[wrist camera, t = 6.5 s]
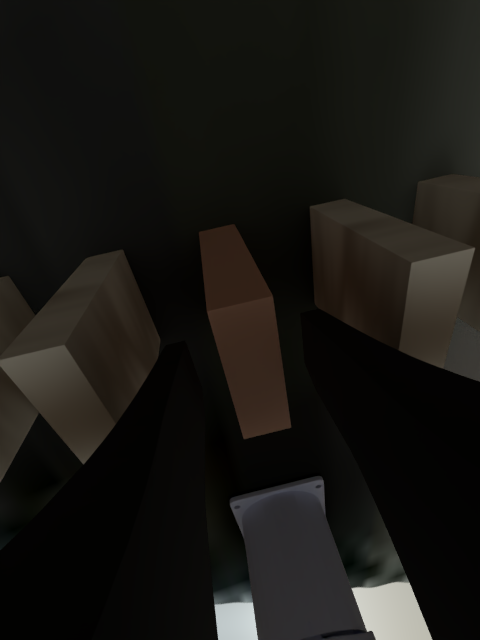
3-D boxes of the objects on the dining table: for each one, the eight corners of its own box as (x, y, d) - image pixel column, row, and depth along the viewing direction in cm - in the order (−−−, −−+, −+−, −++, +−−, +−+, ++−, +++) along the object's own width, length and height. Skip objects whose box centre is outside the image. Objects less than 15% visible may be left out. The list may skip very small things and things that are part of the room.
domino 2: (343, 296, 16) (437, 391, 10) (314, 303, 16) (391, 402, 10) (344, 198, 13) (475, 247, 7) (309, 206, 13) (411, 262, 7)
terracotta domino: (252, 317, 15) (291, 427, 10) (223, 324, 15) (243, 439, 10) (234, 223, 13) (272, 296, 7) (198, 231, 13) (206, 311, 7)
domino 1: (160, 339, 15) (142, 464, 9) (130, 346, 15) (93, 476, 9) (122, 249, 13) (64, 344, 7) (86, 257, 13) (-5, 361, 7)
